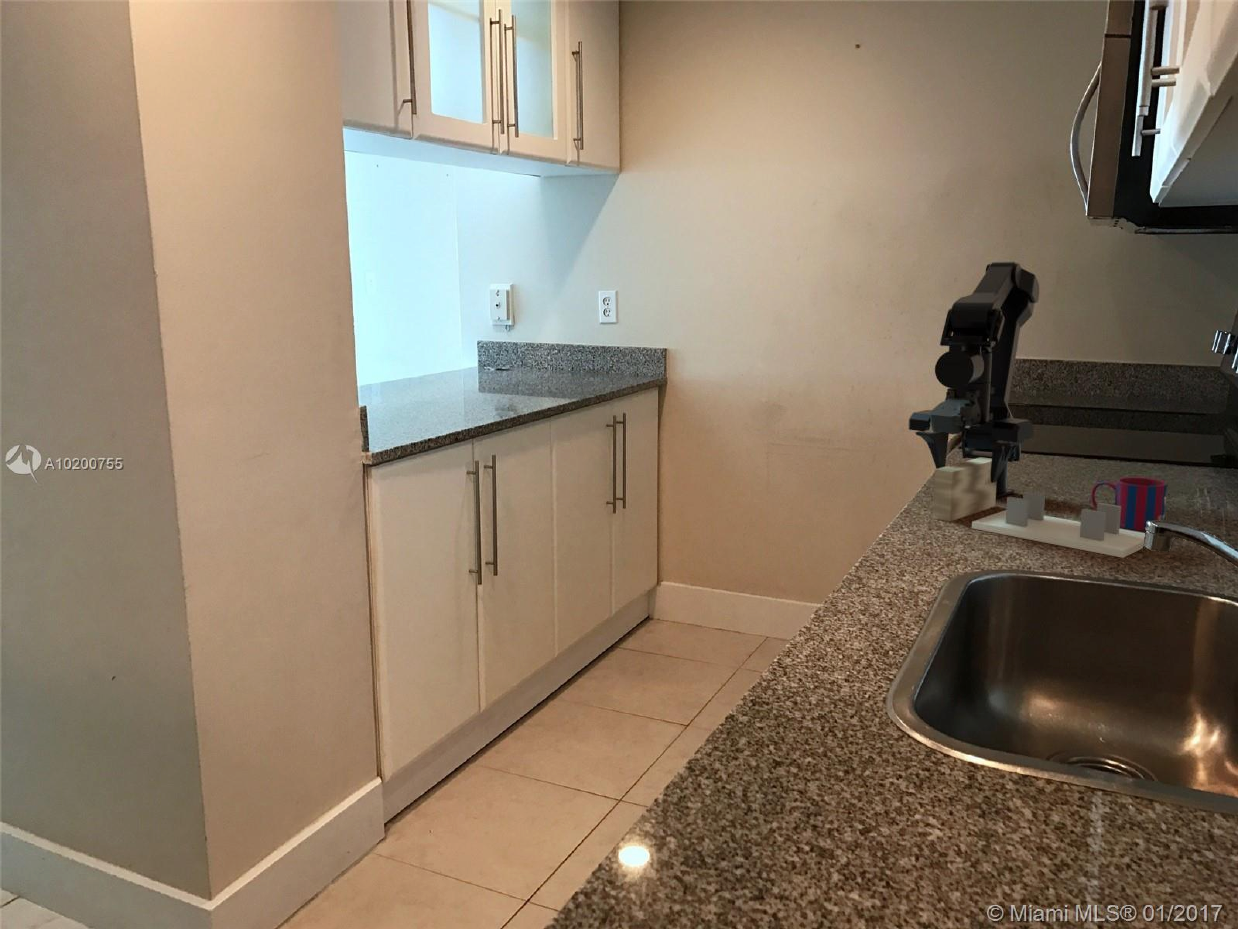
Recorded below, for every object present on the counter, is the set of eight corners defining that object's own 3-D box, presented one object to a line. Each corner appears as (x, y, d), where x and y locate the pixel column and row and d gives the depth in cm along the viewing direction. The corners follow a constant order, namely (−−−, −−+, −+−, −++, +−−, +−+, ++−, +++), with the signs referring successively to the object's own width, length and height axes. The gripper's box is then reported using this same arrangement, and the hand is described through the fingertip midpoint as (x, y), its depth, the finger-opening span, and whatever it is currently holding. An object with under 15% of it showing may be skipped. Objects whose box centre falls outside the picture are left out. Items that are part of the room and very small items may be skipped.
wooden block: (973, 503, 162) (976, 456, 160) (995, 506, 159) (997, 459, 157) (928, 517, 153) (930, 468, 151) (949, 522, 150) (952, 472, 148)
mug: (1159, 533, 141) (1163, 488, 139) (1085, 524, 147) (1088, 480, 145) (1166, 523, 146) (1170, 480, 145) (1095, 515, 152) (1098, 473, 151)
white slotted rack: (1007, 515, 153) (1009, 484, 152) (1155, 541, 136) (1158, 507, 135) (971, 528, 146) (973, 496, 145) (1123, 557, 129) (1125, 521, 128)
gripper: (890, 382, 153) (887, 477, 156) (1001, 391, 139) (996, 495, 143) (929, 376, 160) (925, 467, 164) (1038, 384, 147) (1032, 483, 150)
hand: (966, 478), depth 155 cm, fingers open, 9 cm apart
